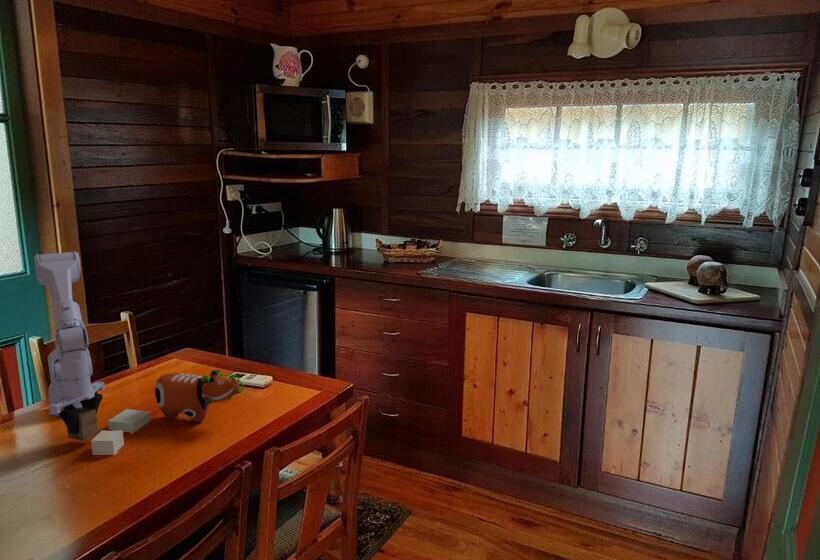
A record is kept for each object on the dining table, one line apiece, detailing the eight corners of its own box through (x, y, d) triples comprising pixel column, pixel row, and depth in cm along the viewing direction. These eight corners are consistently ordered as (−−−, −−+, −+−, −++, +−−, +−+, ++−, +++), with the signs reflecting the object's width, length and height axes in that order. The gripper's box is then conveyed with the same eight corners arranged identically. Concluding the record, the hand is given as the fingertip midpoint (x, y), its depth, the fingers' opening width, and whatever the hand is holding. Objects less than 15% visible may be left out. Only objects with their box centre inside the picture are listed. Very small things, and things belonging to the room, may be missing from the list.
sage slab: (109, 431, 148) (107, 420, 148) (127, 419, 155) (126, 409, 154) (133, 434, 147) (132, 423, 146) (150, 422, 154) (149, 411, 153)
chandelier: (254, 392, 173) (252, 370, 172) (208, 409, 162) (207, 385, 160) (225, 379, 182) (223, 358, 181) (180, 394, 171) (178, 372, 169)
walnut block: (68, 438, 140) (65, 415, 138) (83, 429, 144) (80, 407, 143) (83, 440, 139) (81, 417, 137) (98, 432, 143) (95, 409, 141)
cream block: (92, 456, 136) (91, 440, 135) (103, 445, 141) (101, 430, 140) (114, 456, 136) (112, 440, 136) (124, 445, 141) (122, 430, 140)
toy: (230, 435, 147) (226, 379, 143) (149, 425, 151) (144, 371, 148) (249, 417, 156) (246, 365, 153) (172, 409, 161) (168, 358, 158)
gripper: (64, 390, 130) (71, 445, 133) (112, 366, 144) (118, 417, 147) (39, 386, 132) (46, 440, 135) (89, 363, 145) (94, 413, 148)
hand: (82, 428), depth 141 cm, fingers closed on walnut block, 4 cm apart
